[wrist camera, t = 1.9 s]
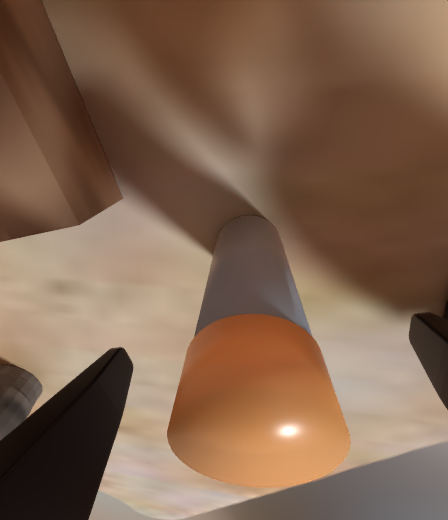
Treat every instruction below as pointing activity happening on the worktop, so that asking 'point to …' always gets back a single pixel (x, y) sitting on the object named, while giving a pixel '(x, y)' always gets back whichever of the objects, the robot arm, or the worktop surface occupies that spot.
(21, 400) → the beverage cup
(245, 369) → the peg
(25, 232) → the socket block
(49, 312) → the worktop surface
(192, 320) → the worktop surface
